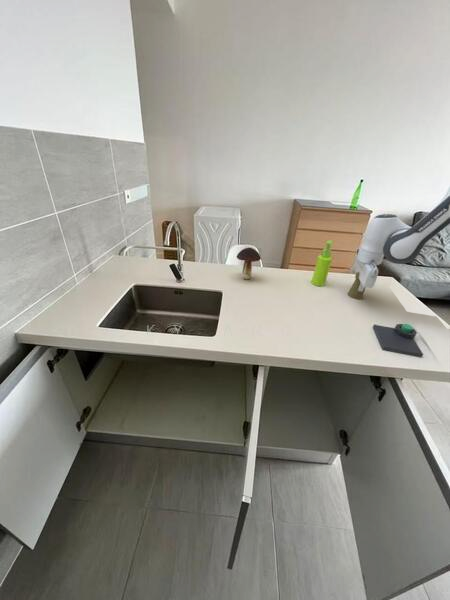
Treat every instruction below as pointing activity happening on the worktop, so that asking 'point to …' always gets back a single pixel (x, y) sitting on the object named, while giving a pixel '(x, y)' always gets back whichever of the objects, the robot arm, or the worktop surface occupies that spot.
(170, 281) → the worktop surface
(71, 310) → the worktop surface
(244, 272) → the decorative mushroom
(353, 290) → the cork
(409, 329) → the power button
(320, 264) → the soap dispenser
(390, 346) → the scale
